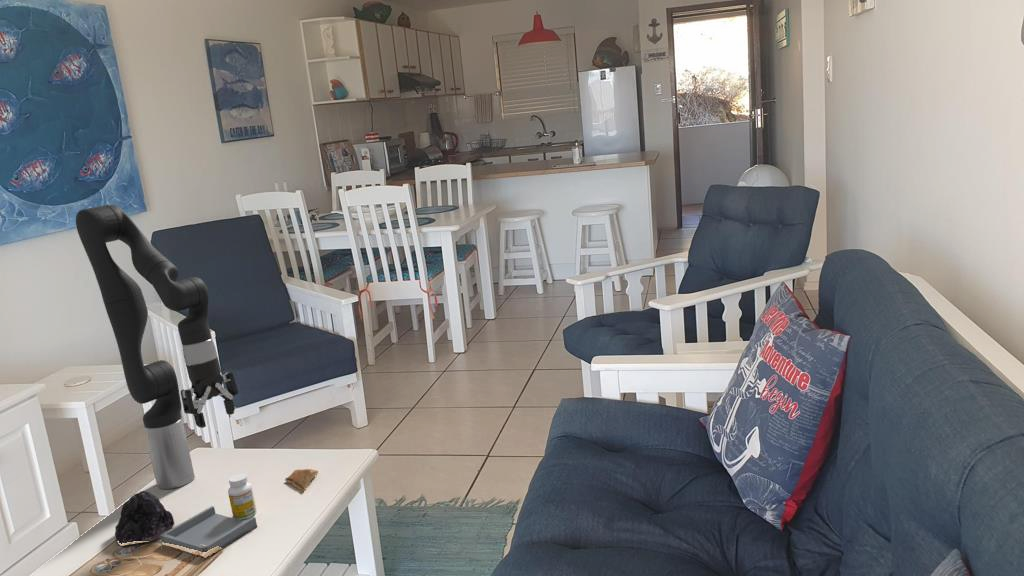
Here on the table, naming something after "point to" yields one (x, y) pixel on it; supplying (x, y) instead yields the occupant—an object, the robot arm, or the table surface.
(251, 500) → the supplement bottle
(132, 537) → the crystal cluster
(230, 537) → the tray
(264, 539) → the table surface
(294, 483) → the shard
